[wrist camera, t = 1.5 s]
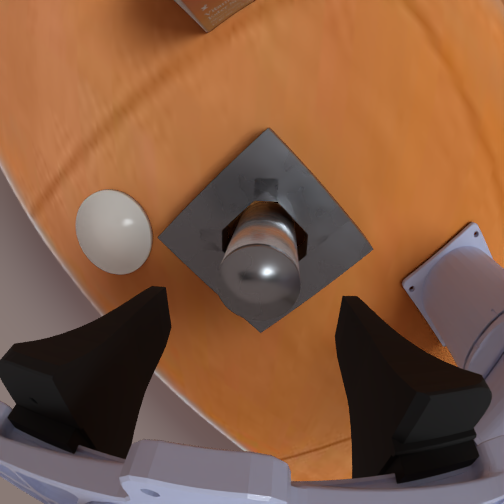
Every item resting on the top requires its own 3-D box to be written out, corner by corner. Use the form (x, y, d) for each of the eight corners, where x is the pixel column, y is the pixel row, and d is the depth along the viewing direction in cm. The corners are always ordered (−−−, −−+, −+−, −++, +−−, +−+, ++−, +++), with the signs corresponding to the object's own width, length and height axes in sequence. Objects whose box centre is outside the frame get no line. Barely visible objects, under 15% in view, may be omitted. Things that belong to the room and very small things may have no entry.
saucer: (170, 234, 23) (168, 236, 23) (122, 286, 25) (119, 289, 25) (107, 170, 21) (103, 171, 21) (67, 230, 24) (63, 232, 23)
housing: (364, 235, 22) (373, 249, 19) (262, 313, 25) (260, 332, 23) (269, 127, 19) (268, 128, 17) (169, 225, 23) (157, 237, 20)
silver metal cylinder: (306, 231, 22) (317, 289, 15) (264, 265, 23) (256, 333, 16) (267, 190, 21) (259, 229, 14) (226, 227, 22) (199, 281, 15)
